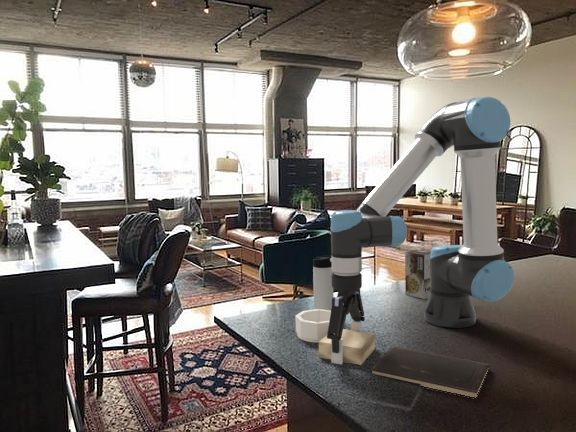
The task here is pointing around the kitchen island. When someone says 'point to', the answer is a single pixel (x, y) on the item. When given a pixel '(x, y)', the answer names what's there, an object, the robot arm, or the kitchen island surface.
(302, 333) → the bowl
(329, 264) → the travel mug
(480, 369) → the hardcover book
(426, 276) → the coffee box
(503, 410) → the kitchen island surface
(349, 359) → the tan box
